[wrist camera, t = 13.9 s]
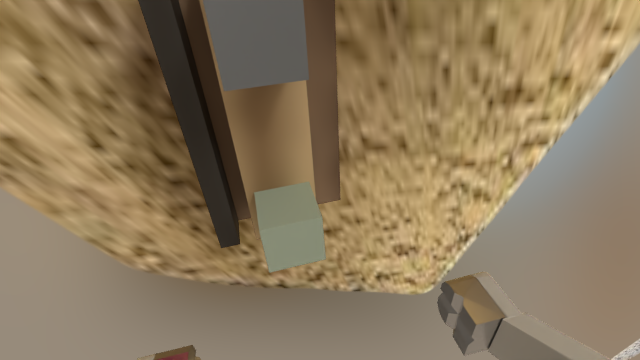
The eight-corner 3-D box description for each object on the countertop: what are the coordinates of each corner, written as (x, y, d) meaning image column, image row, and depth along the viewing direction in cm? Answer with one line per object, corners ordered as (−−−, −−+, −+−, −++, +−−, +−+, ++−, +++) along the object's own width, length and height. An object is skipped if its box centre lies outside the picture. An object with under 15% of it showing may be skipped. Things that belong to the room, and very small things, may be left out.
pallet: (284, -40, 20) (296, -38, 17) (307, 197, 30) (318, 226, 27) (197, -33, 19) (192, -29, 16) (252, 208, 29) (256, 239, 26)
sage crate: (309, 181, 24) (322, 217, 21) (313, 221, 27) (325, 259, 23) (254, 192, 24) (259, 230, 20) (263, 232, 26) (269, 272, 23)
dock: (314, -62, 24) (348, -65, 17) (326, 171, 35) (350, 220, 29) (151, -50, 22) (121, -49, 15) (221, 190, 34) (221, 247, 27)
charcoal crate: (286, -25, 17) (301, -18, 14) (294, 57, 19) (309, 79, 16) (204, -18, 16) (200, -9, 13) (223, 66, 18) (223, 91, 15)
